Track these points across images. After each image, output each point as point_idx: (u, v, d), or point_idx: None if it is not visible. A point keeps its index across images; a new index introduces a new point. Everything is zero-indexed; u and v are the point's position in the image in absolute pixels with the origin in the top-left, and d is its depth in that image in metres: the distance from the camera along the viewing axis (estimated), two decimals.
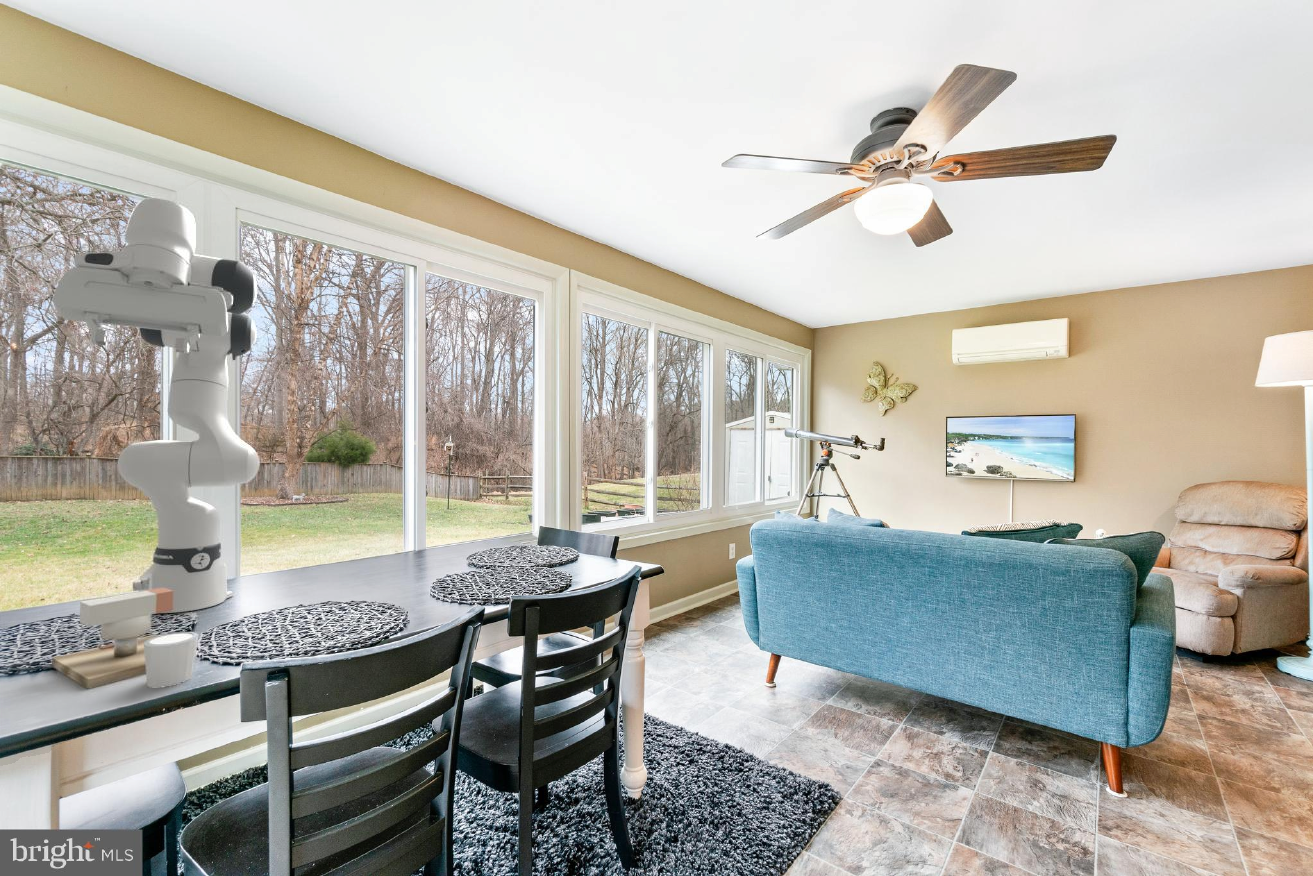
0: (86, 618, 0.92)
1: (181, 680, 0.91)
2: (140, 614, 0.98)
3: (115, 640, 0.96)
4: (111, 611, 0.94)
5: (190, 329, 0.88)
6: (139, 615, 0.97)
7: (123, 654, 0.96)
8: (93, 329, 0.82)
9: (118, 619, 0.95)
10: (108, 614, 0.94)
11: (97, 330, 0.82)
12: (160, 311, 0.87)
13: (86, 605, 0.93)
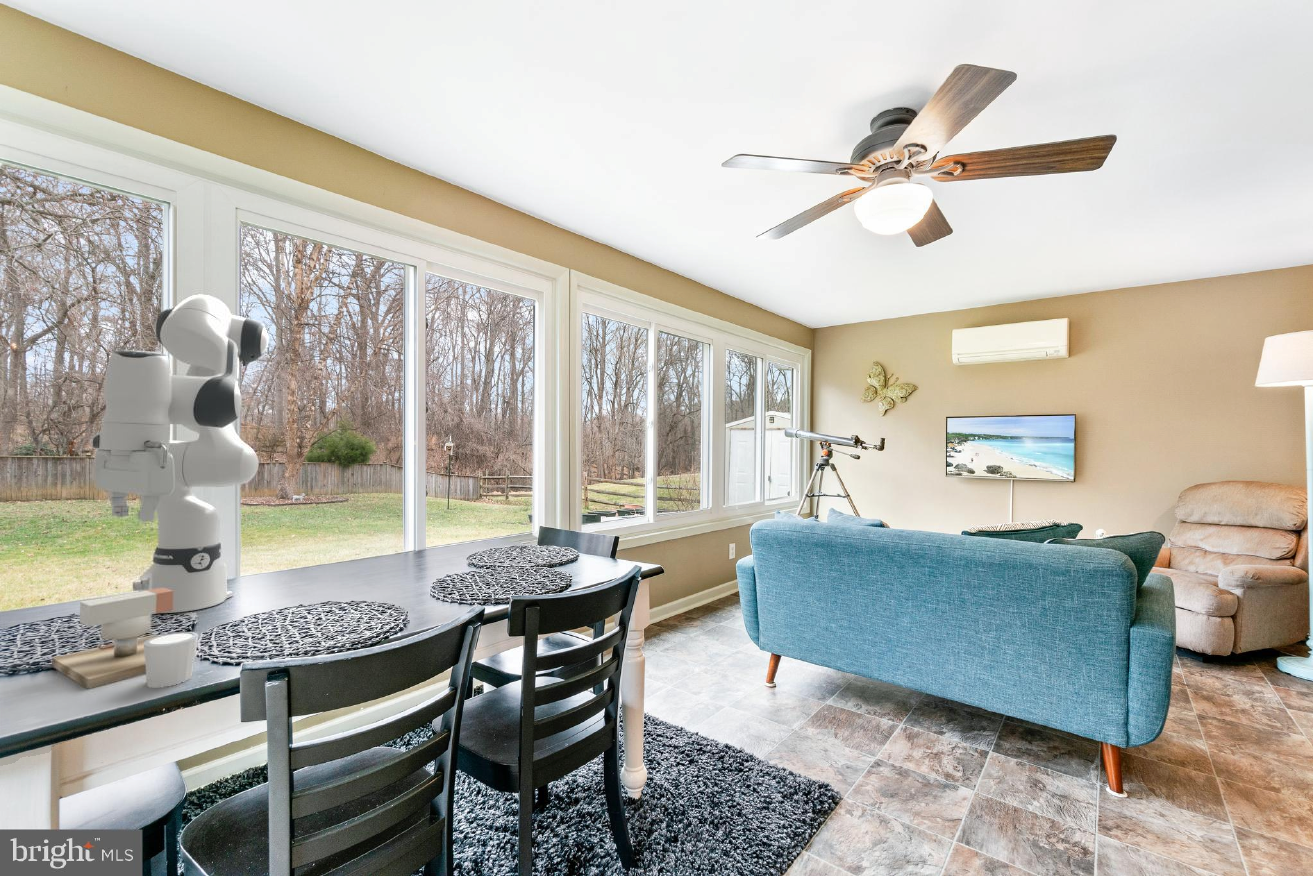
0: (86, 618, 0.92)
1: (181, 680, 0.91)
2: (140, 614, 0.98)
3: (115, 640, 0.96)
4: (111, 611, 0.94)
5: (141, 500, 0.94)
6: (139, 615, 0.97)
7: (123, 654, 0.96)
8: (112, 507, 0.99)
9: (118, 619, 0.95)
10: (108, 614, 0.94)
11: (113, 507, 0.99)
12: (125, 486, 0.95)
13: (86, 605, 0.93)
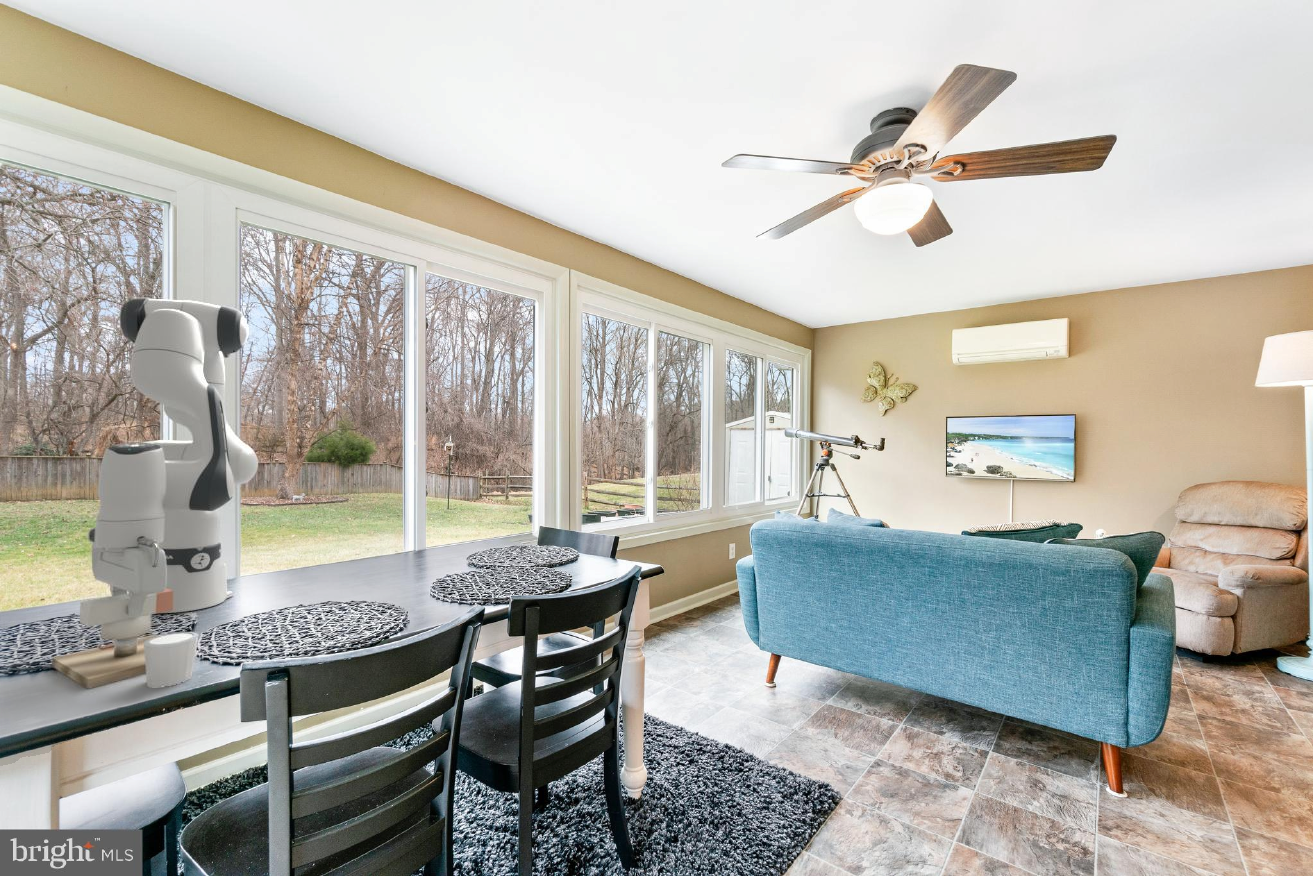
0: (86, 618, 0.92)
1: (181, 680, 0.91)
2: (140, 614, 0.98)
3: (115, 640, 0.96)
4: (111, 611, 0.94)
5: (129, 596, 0.95)
6: (139, 615, 0.97)
7: (123, 654, 0.96)
8: None
9: (118, 619, 0.95)
10: (108, 614, 0.94)
11: None
12: (119, 582, 0.95)
13: (86, 605, 0.93)
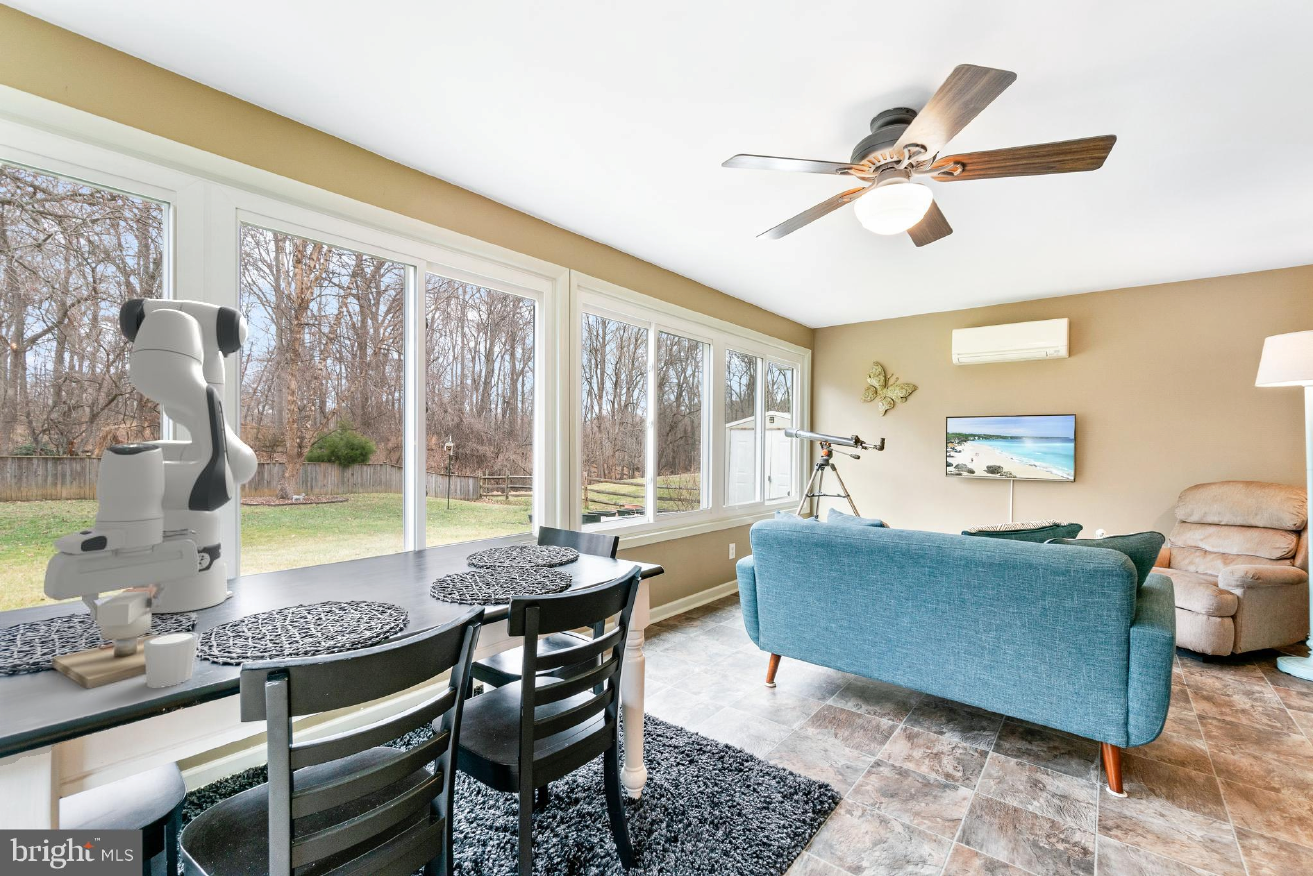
0: (119, 618, 0.93)
1: (181, 680, 0.91)
2: (144, 611, 0.99)
3: (115, 640, 0.96)
4: (135, 609, 0.96)
5: (163, 587, 1.01)
6: (144, 612, 0.99)
7: (123, 654, 0.96)
8: (96, 610, 0.93)
9: (137, 616, 0.97)
10: (134, 612, 0.96)
11: None
12: (146, 578, 0.98)
13: (117, 605, 0.93)
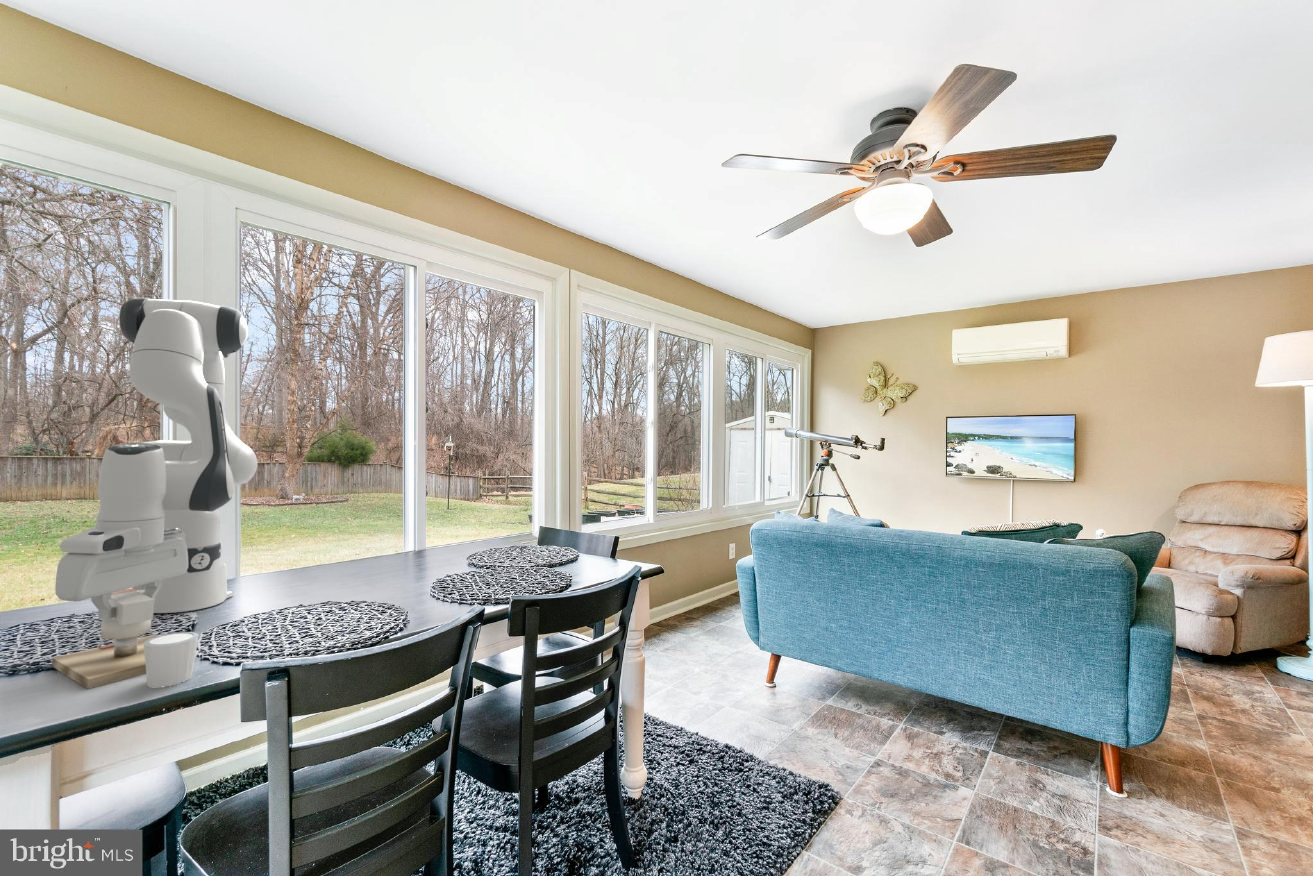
0: (144, 614, 0.95)
1: (181, 680, 0.91)
2: None
3: (115, 640, 0.96)
4: None
5: (156, 586, 1.02)
6: None
7: (123, 654, 0.96)
8: (108, 609, 0.94)
9: None
10: None
11: (111, 609, 0.94)
12: (148, 577, 0.99)
13: (142, 602, 0.95)
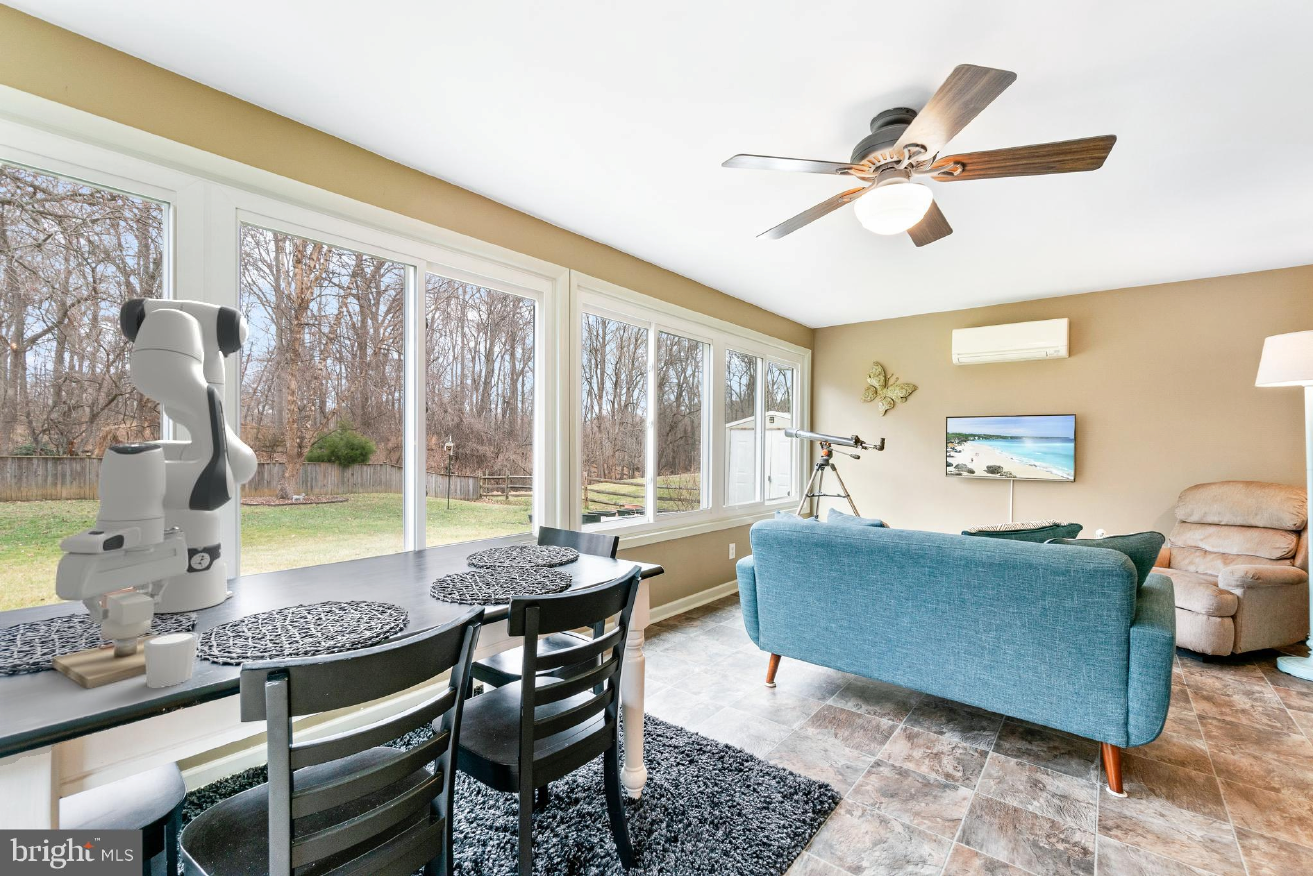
0: (145, 614, 0.95)
1: (181, 680, 0.91)
2: None
3: (115, 640, 0.96)
4: None
5: (163, 584, 1.03)
6: None
7: (123, 654, 0.96)
8: (100, 611, 0.92)
9: None
10: None
11: (103, 611, 0.93)
12: (148, 577, 0.99)
13: (143, 602, 0.95)
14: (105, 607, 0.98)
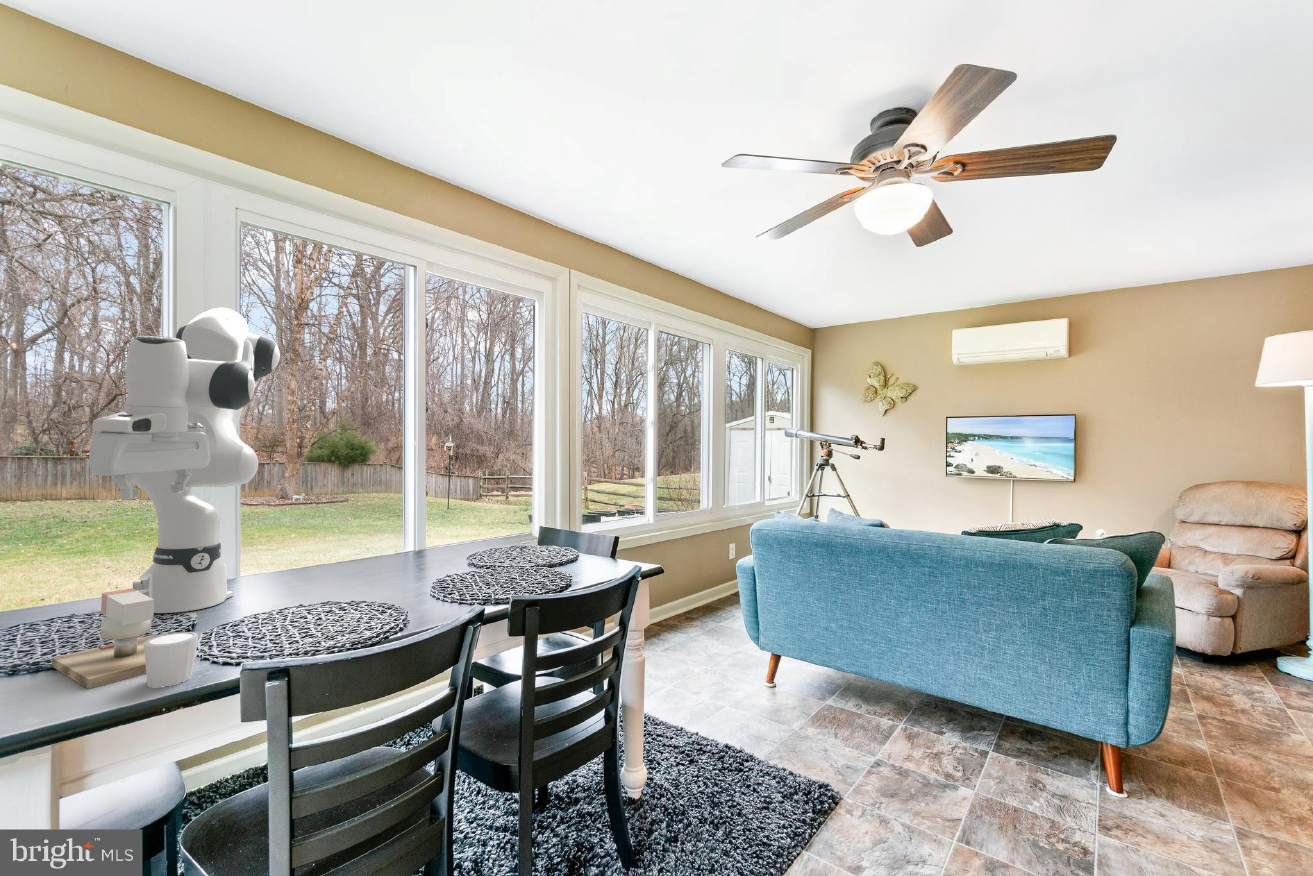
0: (145, 614, 0.95)
1: (181, 680, 0.91)
2: None
3: (115, 640, 0.96)
4: None
5: (187, 474, 1.09)
6: None
7: (123, 654, 0.96)
8: (130, 490, 0.98)
9: None
10: None
11: (133, 490, 0.99)
12: (173, 464, 1.05)
13: (143, 602, 0.95)
14: (105, 607, 0.98)
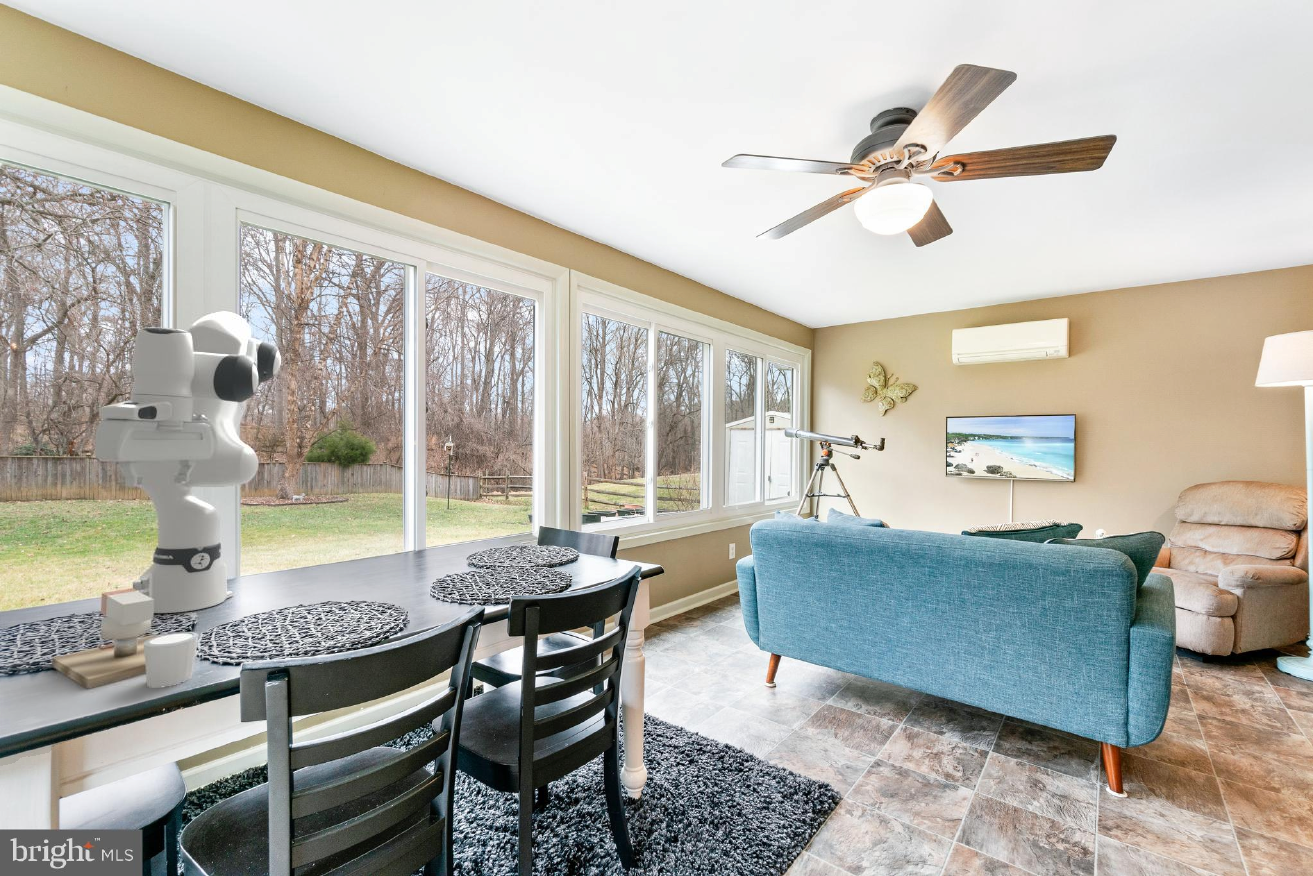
0: (145, 614, 0.95)
1: (181, 680, 0.91)
2: None
3: (115, 640, 0.96)
4: None
5: (190, 465, 1.10)
6: None
7: (123, 654, 0.96)
8: (135, 477, 0.99)
9: None
10: None
11: (137, 478, 0.99)
12: (177, 454, 1.06)
13: (143, 602, 0.95)
14: (105, 607, 0.98)
